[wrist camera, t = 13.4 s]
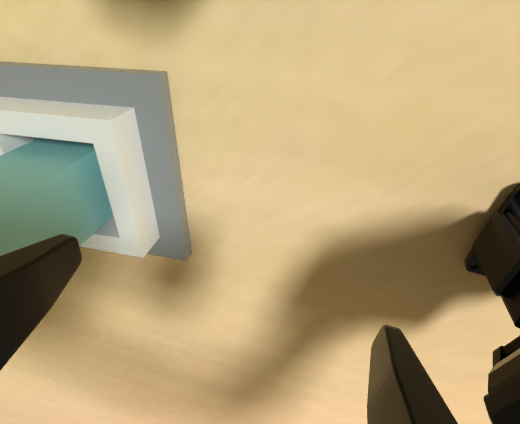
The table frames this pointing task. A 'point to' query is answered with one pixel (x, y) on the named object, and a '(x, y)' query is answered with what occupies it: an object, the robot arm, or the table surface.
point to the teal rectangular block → (50, 193)
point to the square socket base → (108, 145)
